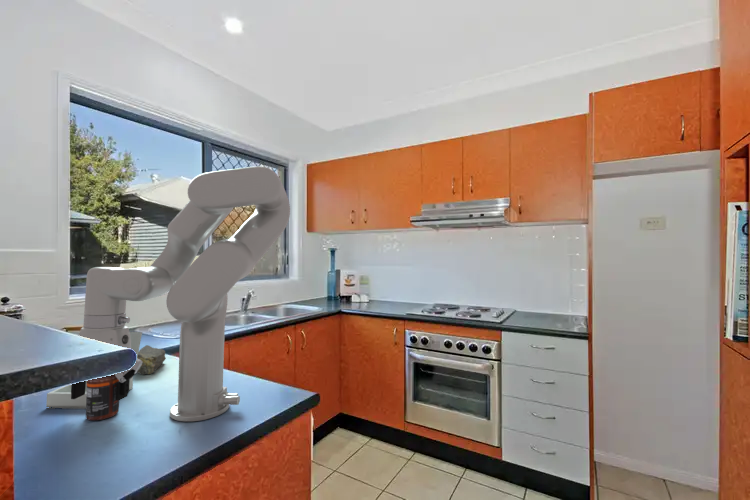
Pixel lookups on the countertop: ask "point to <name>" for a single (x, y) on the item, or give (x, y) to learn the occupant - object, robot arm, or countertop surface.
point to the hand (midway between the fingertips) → (99, 397)
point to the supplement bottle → (101, 398)
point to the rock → (150, 359)
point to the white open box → (63, 394)
